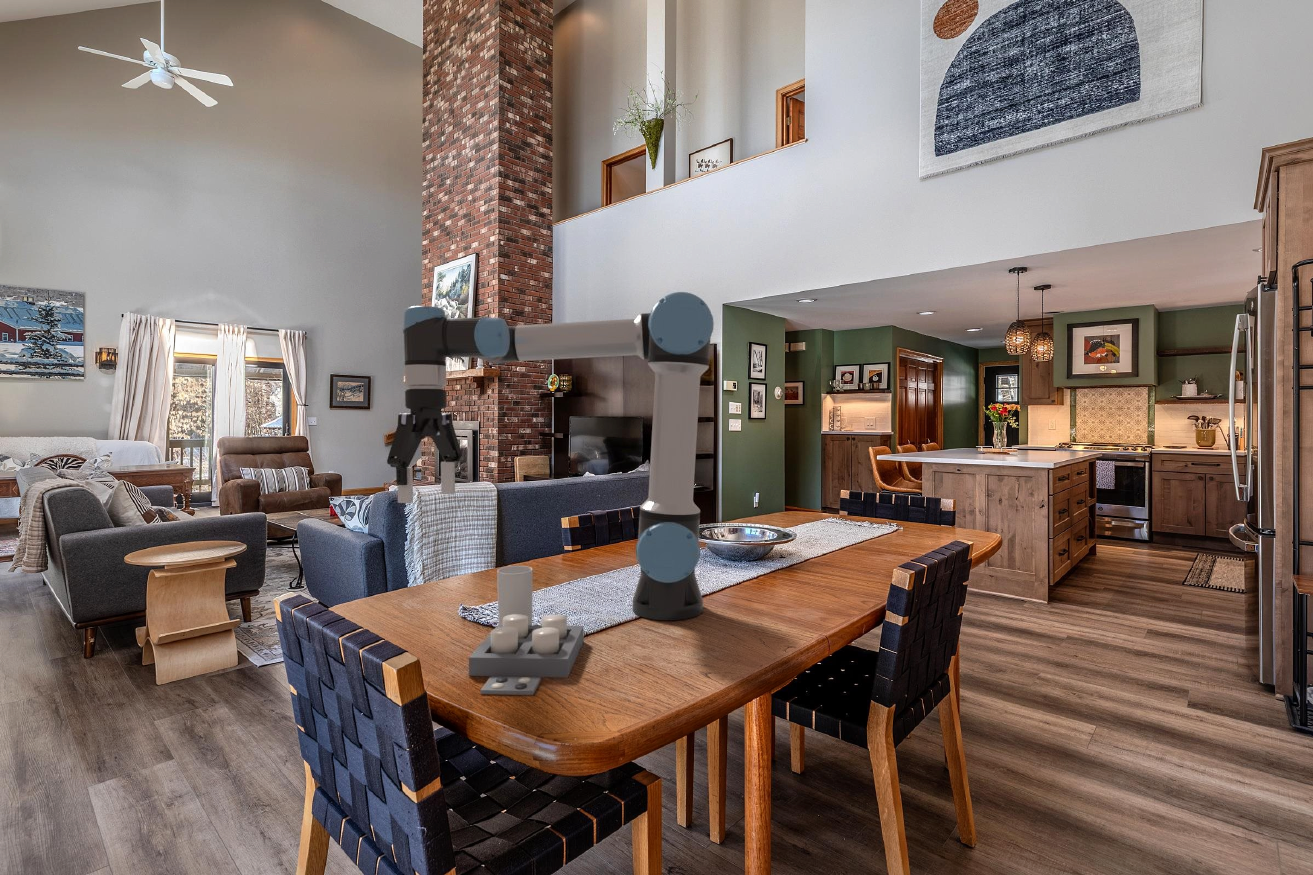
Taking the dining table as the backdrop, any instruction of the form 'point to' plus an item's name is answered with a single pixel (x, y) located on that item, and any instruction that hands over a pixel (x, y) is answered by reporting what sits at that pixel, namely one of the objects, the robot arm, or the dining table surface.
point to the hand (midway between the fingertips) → (428, 498)
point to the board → (528, 657)
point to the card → (511, 685)
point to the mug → (515, 591)
